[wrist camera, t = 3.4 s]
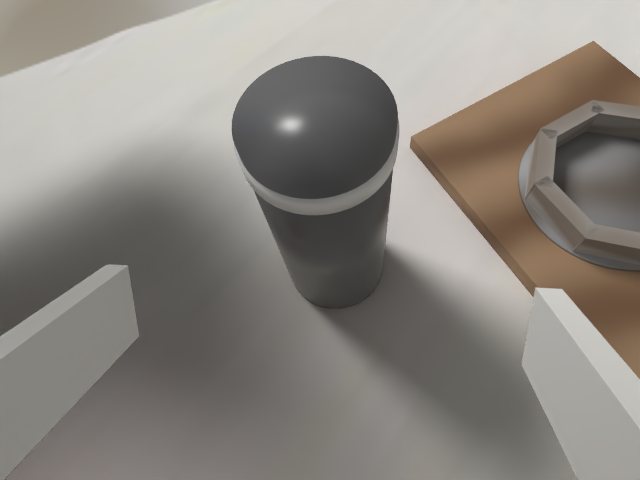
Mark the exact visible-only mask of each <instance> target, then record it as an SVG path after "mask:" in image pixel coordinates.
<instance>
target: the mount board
mask: <svg viewBox="0 0 640 480" xmlns="http://www.w3.org/2000/svg"><path fill="white" fill-rule="evenodd" d="M410 148H411V149H412V150H413V152H414V153H415V154H416V155H417V156H418V158H419V159H420V160H421V161H422V162H423V164H424V165H425V166H426V167H427V169H428V170H429V171H430V172H431V173H432V175H433V176H434V177H435V178H436V179H437V181H438V182H439V183H440V184H441V186H442V187H443V188H444V189H445V190H446V192H447V193H448V194H449V195H450V196H451V198H452V199H453V200H454V201H455V202H456V204H457V205H458V206H459V207H460V209H461V210H462V211H463V212H464V213H465V215H466V216H467V217H468V218H469V219H470V221H471V222H472V223H473V224H474V226H475V227H476V228H477V229H478V230H479V232H480V233H481V234H482V235H483V236H484V238H485V239H486V240H487V241H488V242H489V244H490V245H491V246H492V247H493V249H494V250H495V251H496V252H497V253H498V255H499V256H500V257H501V258H502V259H503V261H504V262H505V263H506V264H507V266H508V267H509V268H510V269H511V270H512V272H513V273H514V274H515V275H516V276H517V278H518V279H519V280H520V281H521V282H522V284H523V285H524V286H525V287H526V289H527V290H528V291H529V292H530V293H531V295H532V296H533V297H534V292H535V287H536V288H554V289H563V291H564V292H565V293H566V294H567V295H568V296H569V298H570V299H571V300H572V301H573V302H574V303H575V305H576V306H577V307H578V308H579V309H580V310H581V312H582V313H583V314H584V315H585V316H586V317H587V319H588V320H589V321H590V322H591V323H592V324H593V326H594V327H595V328H596V329H597V330H598V331H599V333H600V334H601V335H602V336H603V337H604V338H605V340H606V341H607V342H608V343H609V344H610V345H611V347H612V348H613V349H614V350H615V351H616V352H617V354H618V355H619V356H620V357H621V358H622V359H623V361H624V362H625V363H626V364H627V365H628V366H629V367H630V369H631V370H632V371H633V372H634V373H635V374H636V376H637V377H638V378H639V379H640V78H639V77H638V76H637V75H635V74H634V73H633V72H632V71H631V70H629V69H628V68H627V67H626V66H624V65H623V64H622V63H621V62H619V61H618V60H617V59H616V58H614V57H613V56H612V55H611V54H609V53H608V52H607V51H606V50H604V49H603V48H602V47H601V46H599V45H598V44H597V43H596V42H594V41H592V42H591V43H589V44H587V45H585V46H583V47H581V48H579V49H577V50H575V51H573V52H572V53H570V54H568V55H566V56H564V57H562V58H560V59H558V60H556V61H554V62H552V63H551V64H549V65H547V66H545V67H543V68H541V69H539V70H537V71H535V72H533V73H532V74H530V75H528V76H526V77H524V78H522V79H520V80H518V81H516V82H514V83H513V84H511V85H509V86H507V87H505V88H503V89H501V90H499V91H497V92H495V93H493V94H492V95H490V96H488V97H486V98H484V99H482V100H480V101H478V102H476V103H474V104H473V105H471V106H469V107H467V108H465V109H463V110H461V111H459V112H457V113H455V114H453V115H452V116H450V117H448V118H446V119H444V120H442V121H440V122H438V123H436V124H434V125H433V126H431V127H429V128H427V129H425V130H423V131H421V132H419V133H417V134H415V135H413V136H412V137H411V143H410Z"/></svg>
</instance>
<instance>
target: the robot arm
mask: <svg viewBox="0 0 640 480" xmlns="http://www.w3.org/2000/svg"><path fill="white" fill-rule="evenodd" d="M138 337H139V331H138V325H137V318H136V312H135V306H134V299H133V293H132V287H131V280H130V274H129V268H128V265H112V264H107V265H105V266H104V267H102V268H101V269H99V270H98V271H96V272H95V273H93V274H92V275H90V276H89V277H87V278H86V279H84V280H83V281H81V282H80V283H78V284H77V285H76V286H74V287H73V288H71V289H70V290H68V291H67V292H65V293H64V294H62V295H61V296H59V297H58V298H56V299H55V300H53V301H52V302H50V303H49V304H47V305H46V306H44V307H43V308H41V309H40V310H39V311H37V312H36V313H34V314H33V315H31V316H30V317H28V318H27V319H25V320H24V321H22V322H21V323H19V324H18V325H16V326H15V327H13V328H12V329H10V330H9V331H7V332H6V333H4V334H3V335H1V336H0V480H4V479H5V478H6V477H7V476H8V475H9V474H10V473H11V472H12V471H13V470H14V469H15V468H16V466H17V465H18V464H19V463H20V462H21V461H22V460H23V459H24V458H25V457H26V456H27V455H28V454H29V453H30V452H31V451H32V449H33V448H34V447H35V446H36V445H37V444H38V443H39V442H40V441H41V440H42V439H43V438H44V437H45V436H46V435H47V434H48V432H49V431H50V430H51V429H52V428H53V427H54V426H55V425H56V424H57V423H58V422H59V421H60V420H61V419H62V418H63V417H64V415H65V414H66V413H67V412H68V411H69V410H70V409H71V408H72V407H73V406H74V405H75V404H76V403H77V402H78V401H79V400H80V398H81V397H82V396H83V395H84V394H85V393H86V392H87V391H88V390H89V389H90V388H91V387H92V386H93V385H94V384H95V383H96V381H97V380H98V379H99V378H100V377H101V376H102V375H103V374H104V373H105V372H106V371H107V370H108V369H109V368H110V367H111V366H112V365H113V363H114V362H115V361H116V360H117V359H118V358H119V357H120V356H121V355H122V354H123V353H124V352H125V351H126V350H127V349H128V348H129V346H130V345H131V344H132V343H133V342H134V341H135V340H136V339H137V338H138ZM521 365H522V367H523V369H524V371H525V373H526V375H527V377H528V379H529V381H530V383H531V385H532V387H533V389H534V391H535V393H536V395H537V398H538V400H539V402H540V404H541V406H542V408H543V410H544V412H545V414H546V416H547V418H548V420H549V422H550V424H551V426H552V428H553V430H554V432H555V434H556V436H557V438H558V440H559V442H560V445H561V447H562V449H563V451H564V453H565V455H566V457H567V459H568V461H569V463H570V465H571V467H572V469H573V471H574V473H575V475H576V477H577V479H578V480H640V379H639V378H638V377H637V376H636V374H635V373H634V372H633V371H632V370H631V369H630V367H629V366H628V365H627V364H626V363H625V362H624V361H623V359H622V358H621V357H620V356H619V355H618V354H617V352H616V351H615V350H614V349H613V348H612V347H611V345H610V344H609V343H608V342H607V341H606V340H605V338H604V337H603V336H602V335H601V334H600V333H599V331H598V330H597V329H596V328H595V327H594V326H593V324H592V323H591V322H590V321H589V320H588V319H587V317H586V316H585V315H584V314H583V313H582V312H581V310H580V309H579V308H578V307H577V306H576V305H575V303H574V302H573V301H572V300H571V299H570V298H569V296H568V295H567V294H566V293H565V292H564V291H563V289H554V288H536V287H535V292H534V297H533V303H532V308H531V314H530V319H529V325H528V330H527V336H526V341H525V347H524V352H523V358H522V363H521Z"/></svg>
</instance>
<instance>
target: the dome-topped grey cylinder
mask: <svg viewBox="0 0 640 480" xmlns="http://www.w3.org/2000/svg"><path fill="white" fill-rule="evenodd" d="M232 136H233V141H234V145H235V152H236V155H237V159H238V161H239V163H240V166H241V168H242V170H243V172H244V175H245V177H246V179H247V181H248V183H249V184H250V186H251V187H252V188H253V190H254V192H255V194H256V196H257V199H258V201H259V203H260V206H261V208H262V210H263V213H264V215H265V217H266V220H267V222H268V224H269V227H270V229H271V231H272V234H273V236H274V238H275V241H276V243H277V245H278V248H279V250H280V253H281V255H282V257H283V260H284V262H285V264H286V267H287V269H288V271H289V274H290V276H291V278H292V281H293V283H294V285H295V287H296V288H297V290H298V291H299V292H300V293H301V294H302V295H303V296H304V297H305V298H306V299H307V300H309V301H310V302H312V303H314V304H316V305H319V306H322V307H326V308H345V307H349V306H352V305H355V304H357V303H359V302H361V301H362V300H364V299H365V298H366V297H368V296H369V295H370V294H371V293H372V292H373V290H374V289H375V288H376V286H377V285H378V283H379V281H380V278H381V275H382V270H383V261H384V252H385V242H386V232H387V222H388V212H389V202H390V192H391V183H392V173H393V167H394V164H395V161H396V156H397V150H398V140H399V121H398V112H397V105H396V102H395V99H394V96H393V94H392V92H391V90H390V89H389V87H388V86H387V85H386V83H385V82H384V81H383V80H382V79H381V78H380V77H379V76H378V75H377V74H376V73H374V72H373V71H372V70H370V69H368V68H367V67H365V66H363V65H361V64H359V63H356V62H354V61H350V60H347V59H343V58H338V57H330V56H313V57H304V58H300V59H295V60H292V61H288V62H285V63H283V64H281V65H278V66H276V67H274V68H272V69H270V70H269V71H267V72H265V73H264V74H263V75H261V76H260V77H259V78H257V79H256V80H255V81H254V82H253V83H252V84H251V85H250V86H249V87H248V88H247V89H246V91H245V92H244V93H243V95H242V96H241V98H240V100H239V101H238V103H237V106H236V108H235V111H234V114H233V119H232Z"/></svg>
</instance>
